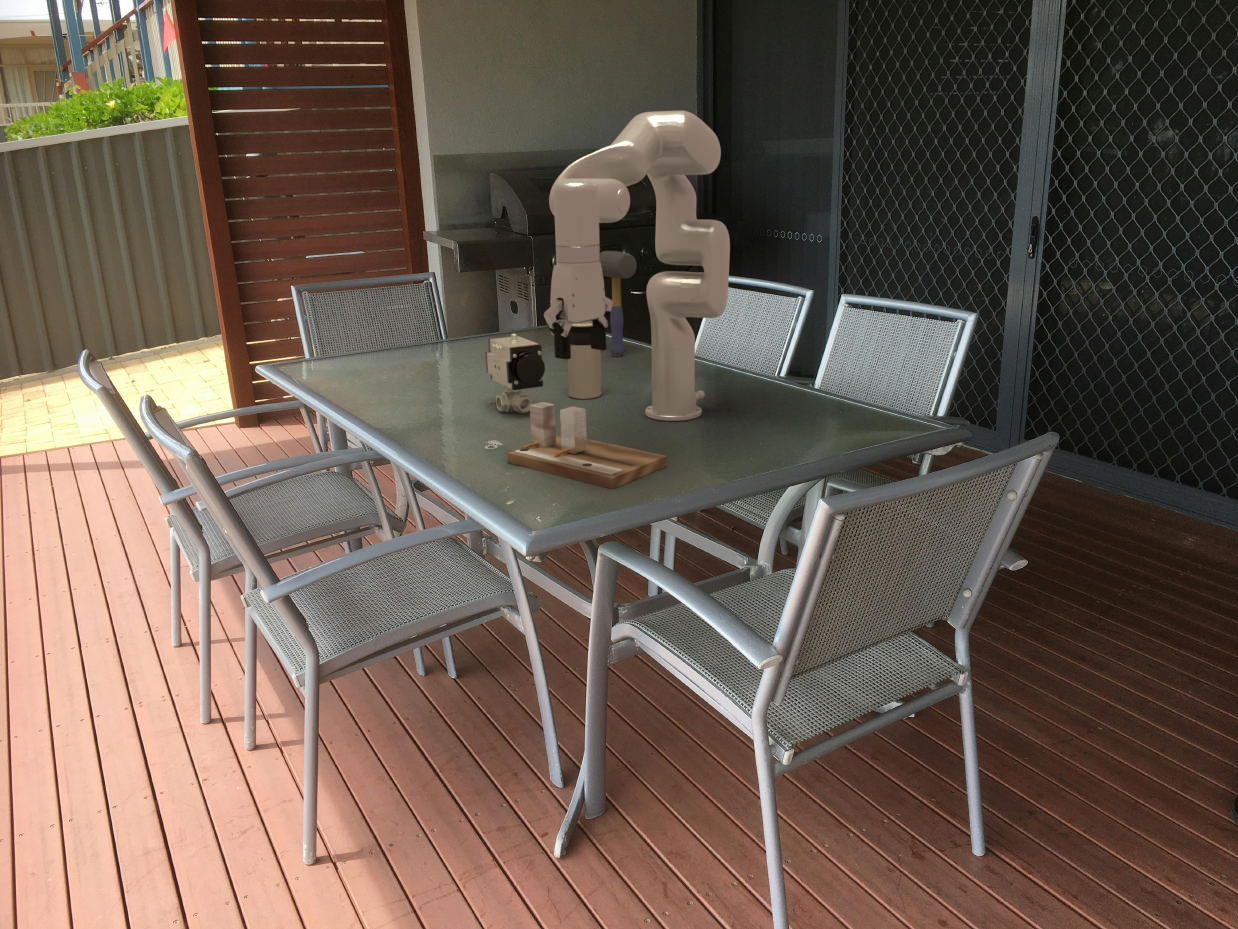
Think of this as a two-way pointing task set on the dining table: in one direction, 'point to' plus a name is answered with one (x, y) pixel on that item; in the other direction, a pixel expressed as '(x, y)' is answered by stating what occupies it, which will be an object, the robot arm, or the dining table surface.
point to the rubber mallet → (617, 291)
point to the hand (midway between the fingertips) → (581, 353)
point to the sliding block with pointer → (573, 430)
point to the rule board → (581, 455)
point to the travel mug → (583, 364)
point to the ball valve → (515, 370)
